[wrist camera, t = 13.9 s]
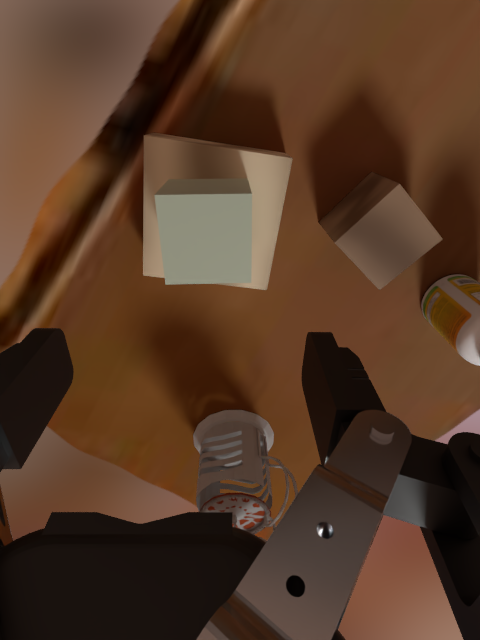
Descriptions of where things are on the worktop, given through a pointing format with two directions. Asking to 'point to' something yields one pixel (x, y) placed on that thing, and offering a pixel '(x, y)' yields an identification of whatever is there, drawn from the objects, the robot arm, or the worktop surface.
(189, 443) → the worktop surface
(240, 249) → the green cube
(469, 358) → the supplement bottle
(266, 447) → the french press
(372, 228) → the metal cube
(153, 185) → the pine block
